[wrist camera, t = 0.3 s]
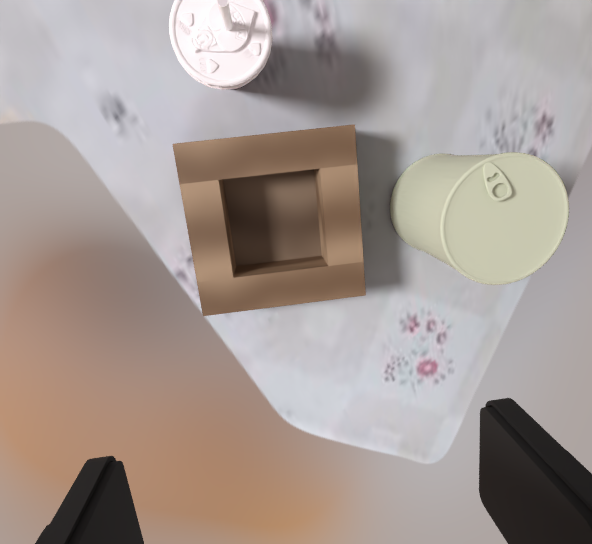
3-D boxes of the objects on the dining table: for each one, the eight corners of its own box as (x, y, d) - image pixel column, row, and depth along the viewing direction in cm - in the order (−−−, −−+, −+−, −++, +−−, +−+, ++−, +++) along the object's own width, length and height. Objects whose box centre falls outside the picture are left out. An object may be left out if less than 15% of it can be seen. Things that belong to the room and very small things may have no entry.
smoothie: (282, 84, 36) (296, 38, 22) (217, 119, 36) (190, 95, 22) (246, 7, 34) (237, -93, 20) (177, 45, 34) (123, -29, 21)
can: (466, 136, 38) (555, 126, 26) (496, 226, 40) (590, 252, 29) (374, 181, 38) (423, 190, 27) (410, 267, 41) (469, 309, 29)
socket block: (184, 146, 36) (172, 143, 31) (342, 129, 37) (354, 124, 32) (210, 297, 40) (203, 316, 35) (353, 279, 41) (365, 295, 36)
